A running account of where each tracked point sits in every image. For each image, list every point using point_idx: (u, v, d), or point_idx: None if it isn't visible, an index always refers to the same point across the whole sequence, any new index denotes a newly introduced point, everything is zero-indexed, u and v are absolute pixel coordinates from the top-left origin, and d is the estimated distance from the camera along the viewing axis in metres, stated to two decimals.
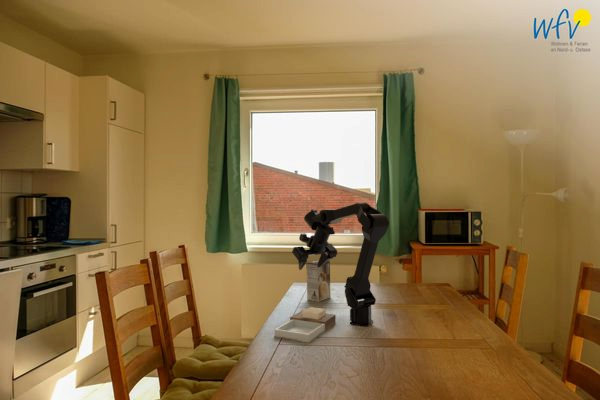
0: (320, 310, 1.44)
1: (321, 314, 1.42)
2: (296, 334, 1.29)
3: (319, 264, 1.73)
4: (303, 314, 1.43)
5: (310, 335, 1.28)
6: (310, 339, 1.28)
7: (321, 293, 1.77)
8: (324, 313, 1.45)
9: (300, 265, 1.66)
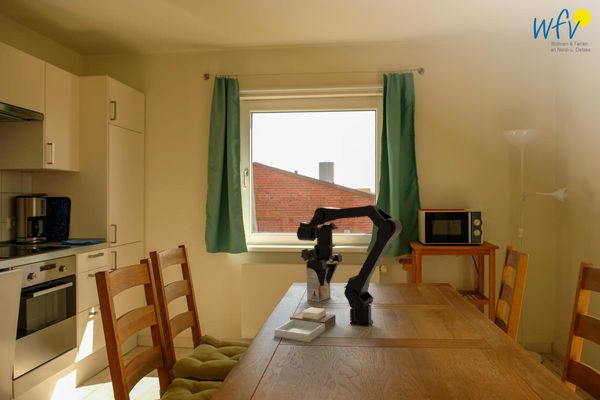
0: (320, 310, 1.44)
1: (321, 314, 1.42)
2: (296, 334, 1.29)
3: (328, 278, 1.55)
4: (303, 314, 1.43)
5: (310, 335, 1.28)
6: (310, 339, 1.28)
7: (321, 293, 1.77)
8: (324, 313, 1.45)
9: (322, 279, 1.49)
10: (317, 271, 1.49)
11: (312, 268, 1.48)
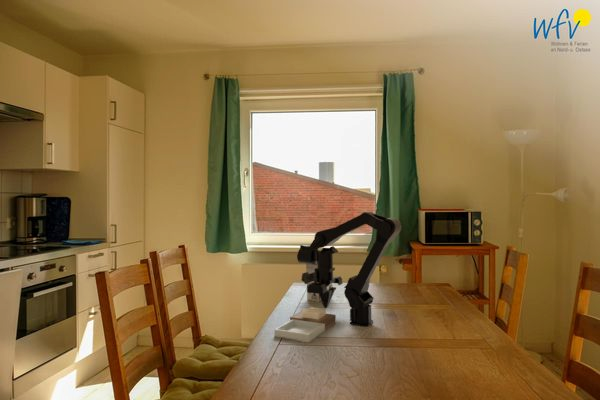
0: (320, 310, 1.44)
1: (321, 314, 1.42)
2: (296, 334, 1.29)
3: None
4: (303, 314, 1.43)
5: (310, 335, 1.28)
6: (310, 339, 1.28)
7: None
8: (324, 313, 1.45)
9: (325, 301, 1.51)
10: (321, 293, 1.51)
11: None
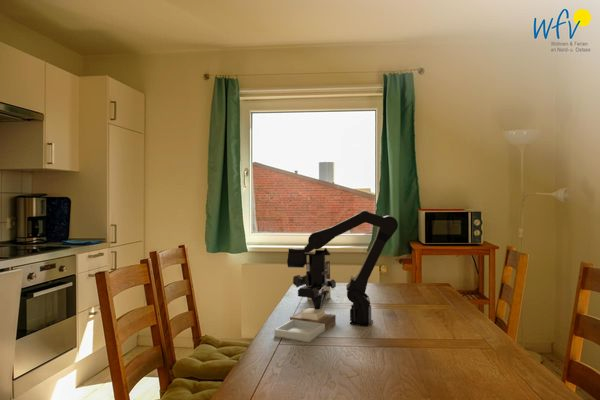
0: (319, 311, 1.43)
1: (319, 315, 1.41)
2: (296, 334, 1.29)
3: None
4: (302, 315, 1.42)
5: (310, 335, 1.28)
6: (310, 339, 1.28)
7: None
8: (323, 314, 1.44)
9: (318, 305, 1.46)
10: (313, 297, 1.46)
11: None
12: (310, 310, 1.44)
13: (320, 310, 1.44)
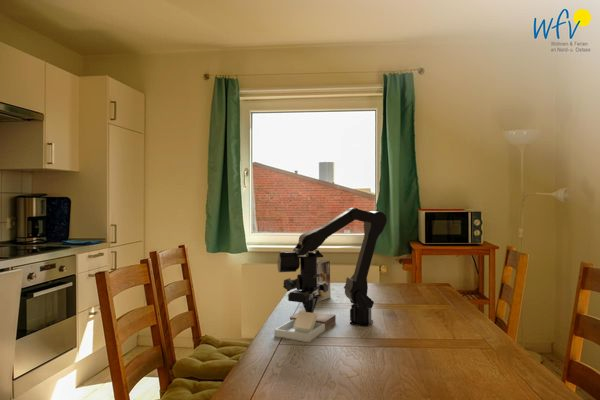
0: (310, 318, 1.37)
1: (312, 325, 1.36)
2: (296, 334, 1.29)
3: (310, 312, 1.41)
4: (295, 328, 1.37)
5: (310, 335, 1.28)
6: (310, 339, 1.28)
7: (321, 293, 1.77)
8: (315, 318, 1.38)
9: (309, 310, 1.40)
10: None
11: None
12: (301, 318, 1.38)
13: (311, 316, 1.37)
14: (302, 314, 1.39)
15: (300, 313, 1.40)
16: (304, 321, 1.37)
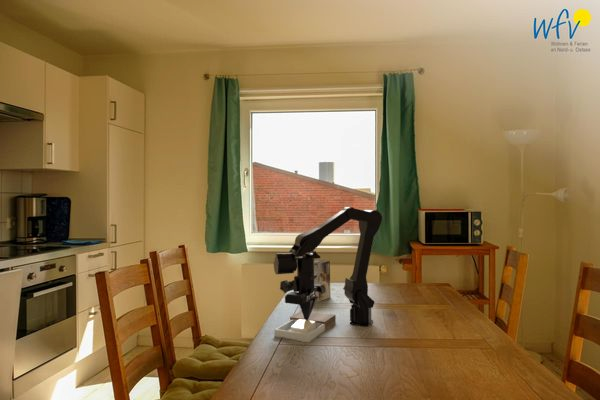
0: (309, 324, 1.36)
1: (310, 329, 1.34)
2: (296, 334, 1.29)
3: None
4: (291, 329, 1.35)
5: (310, 335, 1.28)
6: (310, 339, 1.28)
7: None
8: (314, 326, 1.37)
9: (306, 312, 1.38)
10: None
11: None
12: (300, 323, 1.37)
13: (310, 322, 1.37)
14: (301, 321, 1.38)
15: (299, 320, 1.39)
16: (302, 324, 1.35)
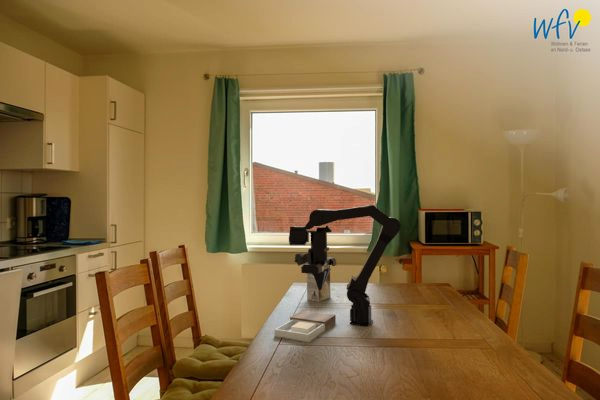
0: (310, 325, 1.36)
1: (310, 329, 1.34)
2: (296, 334, 1.29)
3: None
4: (292, 329, 1.35)
5: (310, 335, 1.28)
6: (310, 339, 1.28)
7: (321, 293, 1.77)
8: (314, 328, 1.37)
9: (320, 282, 1.46)
10: (315, 274, 1.46)
11: None
12: (300, 324, 1.37)
13: (311, 324, 1.37)
14: (302, 322, 1.39)
15: (300, 322, 1.39)
16: (303, 325, 1.36)
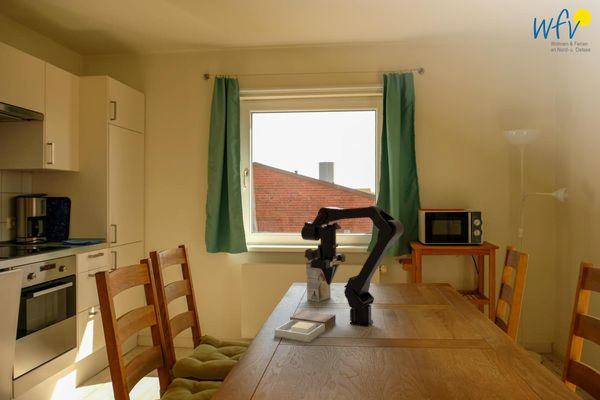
0: (310, 325, 1.36)
1: (310, 329, 1.34)
2: (296, 334, 1.29)
3: None
4: (292, 329, 1.35)
5: (310, 335, 1.28)
6: (310, 339, 1.28)
7: (321, 293, 1.77)
8: (314, 328, 1.37)
9: (329, 277, 1.52)
10: (324, 270, 1.52)
11: None
12: (300, 324, 1.37)
13: (311, 324, 1.37)
14: (302, 322, 1.39)
15: (300, 322, 1.39)
16: (303, 325, 1.36)
